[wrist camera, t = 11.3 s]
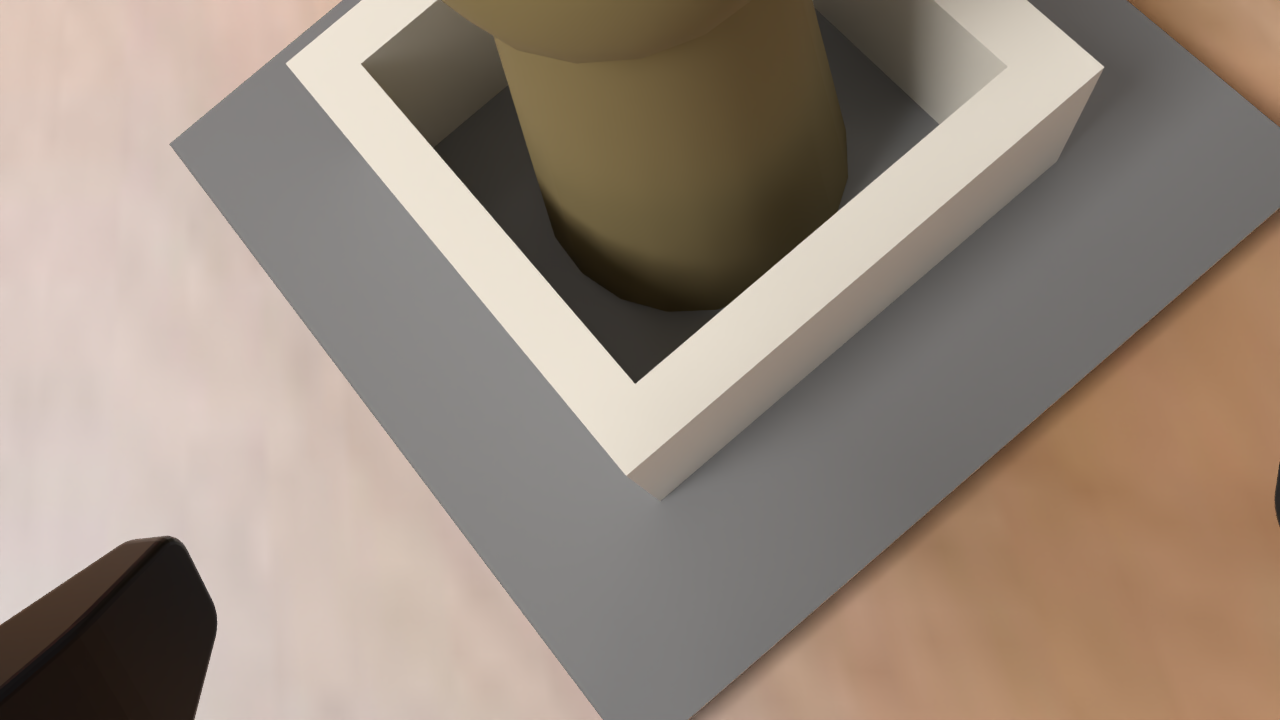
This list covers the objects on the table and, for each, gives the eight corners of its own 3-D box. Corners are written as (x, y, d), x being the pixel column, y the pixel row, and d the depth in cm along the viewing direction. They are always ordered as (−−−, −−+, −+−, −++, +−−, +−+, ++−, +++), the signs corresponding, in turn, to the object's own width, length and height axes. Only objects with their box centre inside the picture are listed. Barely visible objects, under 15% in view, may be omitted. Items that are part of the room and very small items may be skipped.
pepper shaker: (561, 339, 21) (286, 38, 10) (523, 60, 22) (252, -455, 12) (878, 278, 20) (944, -115, 9) (816, -6, 21) (811, -620, 11)
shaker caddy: (646, 757, 19) (595, 795, 15) (195, 163, 24) (57, 62, 20) (1302, 189, 20) (1434, 68, 16) (738, -289, 24) (719, -484, 20)
